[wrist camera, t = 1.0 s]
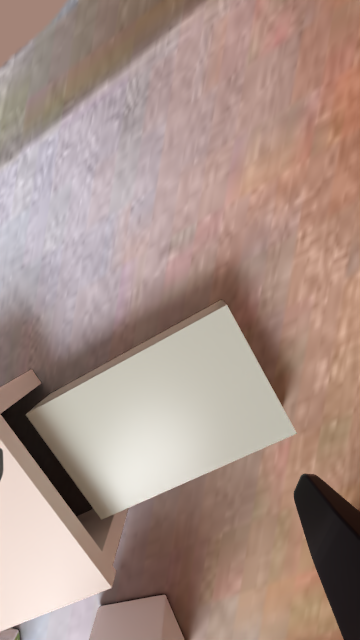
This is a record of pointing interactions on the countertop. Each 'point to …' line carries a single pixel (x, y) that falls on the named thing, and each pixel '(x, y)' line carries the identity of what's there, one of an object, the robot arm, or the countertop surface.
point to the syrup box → (9, 634)
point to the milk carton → (136, 621)
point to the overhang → (45, 533)
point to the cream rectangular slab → (162, 413)
